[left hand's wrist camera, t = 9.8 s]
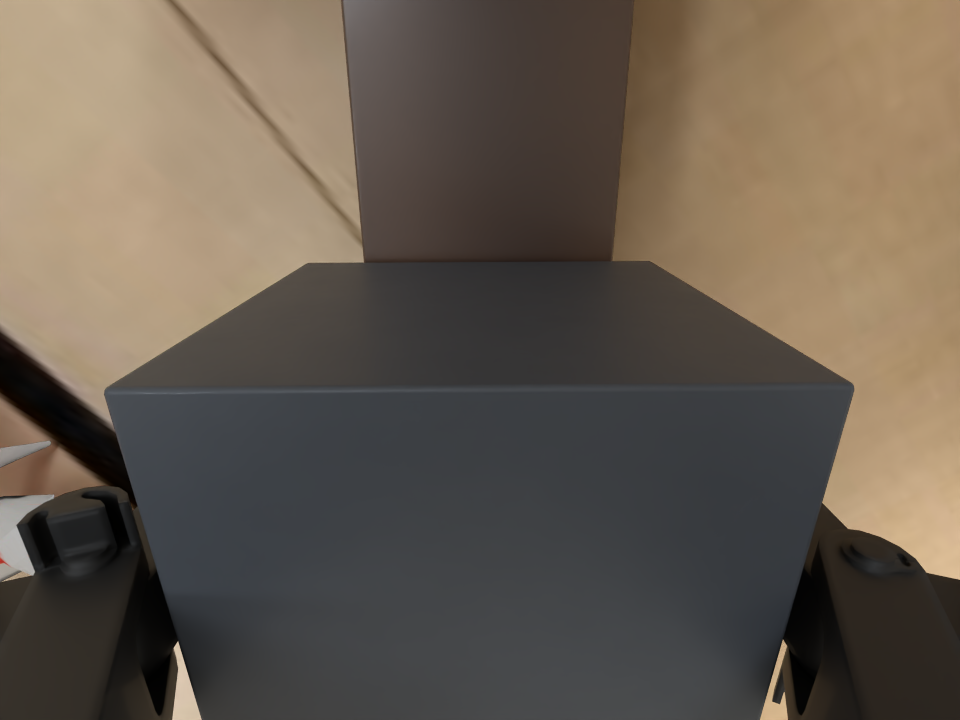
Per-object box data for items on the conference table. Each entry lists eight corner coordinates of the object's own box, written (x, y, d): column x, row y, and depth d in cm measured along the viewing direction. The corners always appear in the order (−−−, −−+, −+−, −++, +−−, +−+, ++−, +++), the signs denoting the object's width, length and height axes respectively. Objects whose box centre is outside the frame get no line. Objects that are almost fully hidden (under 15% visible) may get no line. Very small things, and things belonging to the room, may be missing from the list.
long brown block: (413, 453, 21) (389, 558, 16) (344, -671, 11) (205, -1514, 6) (559, 452, 21) (587, 557, 16) (623, -676, 11) (767, -1527, 5)
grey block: (341, 539, 15) (235, 838, 8) (306, 262, 12) (98, 388, 5) (618, 538, 15) (729, 834, 8) (651, 260, 12) (860, 383, 5)
